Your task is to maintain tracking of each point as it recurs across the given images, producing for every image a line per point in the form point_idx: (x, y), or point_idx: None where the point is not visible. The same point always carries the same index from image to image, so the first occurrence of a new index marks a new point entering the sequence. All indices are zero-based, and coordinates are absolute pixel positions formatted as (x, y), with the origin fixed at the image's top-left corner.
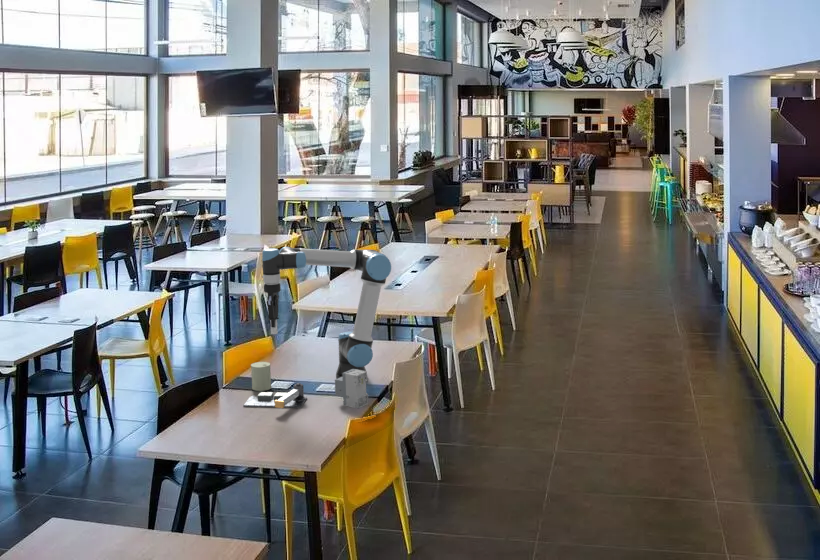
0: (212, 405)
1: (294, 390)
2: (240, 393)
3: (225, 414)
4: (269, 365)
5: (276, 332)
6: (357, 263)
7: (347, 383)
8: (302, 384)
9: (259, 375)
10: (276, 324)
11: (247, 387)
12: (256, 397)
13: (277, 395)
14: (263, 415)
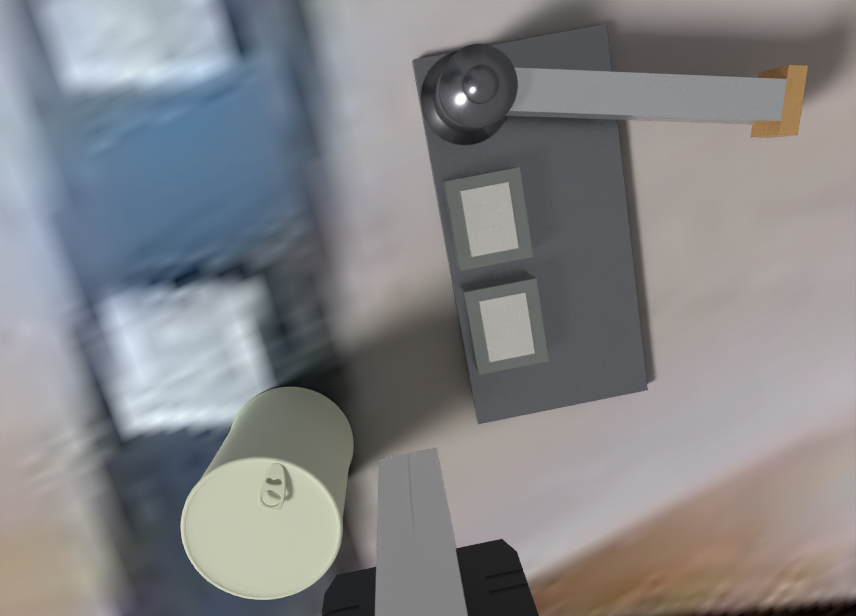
0: (652, 552)
1: (552, 88)
2: None
3: (779, 418)
4: (257, 455)
5: (438, 466)
6: None
7: None
8: (447, 62)
9: (341, 474)
10: (445, 556)
11: None
12: (503, 379)
13: (520, 235)
14: (766, 203)
